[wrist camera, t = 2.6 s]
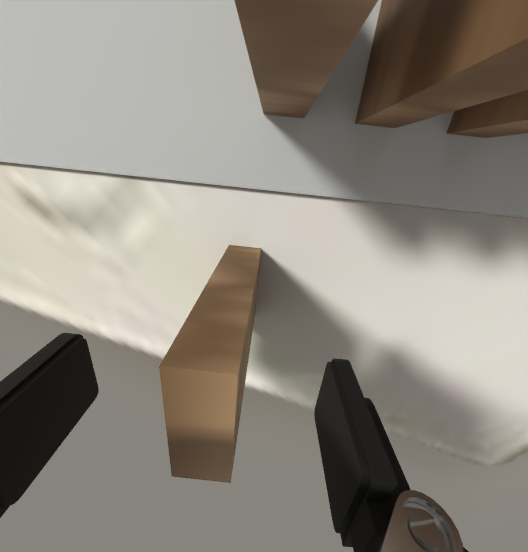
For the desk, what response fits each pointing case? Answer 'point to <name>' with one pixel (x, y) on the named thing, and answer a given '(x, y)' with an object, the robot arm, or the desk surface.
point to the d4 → (297, 47)
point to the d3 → (442, 58)
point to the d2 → (493, 117)
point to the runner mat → (222, 111)
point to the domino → (211, 370)
